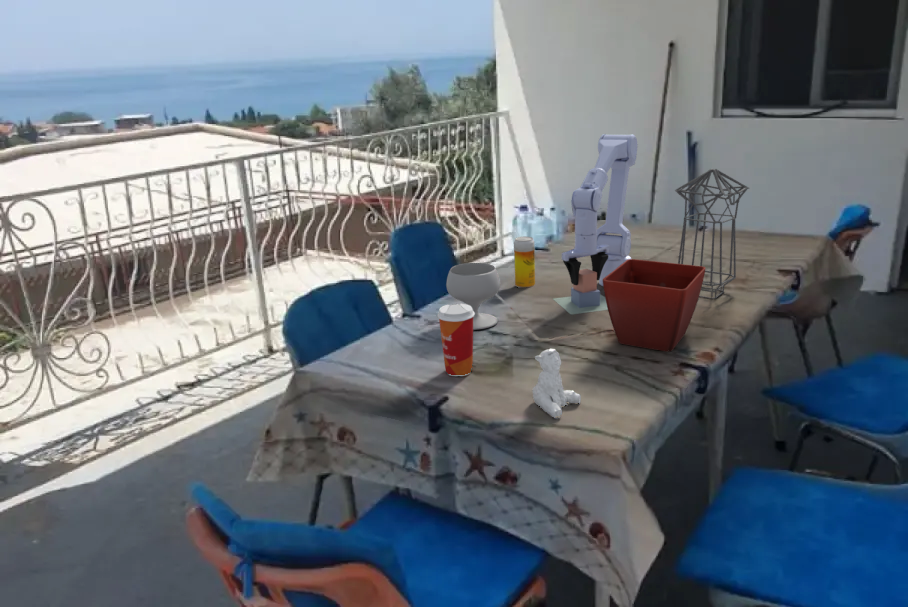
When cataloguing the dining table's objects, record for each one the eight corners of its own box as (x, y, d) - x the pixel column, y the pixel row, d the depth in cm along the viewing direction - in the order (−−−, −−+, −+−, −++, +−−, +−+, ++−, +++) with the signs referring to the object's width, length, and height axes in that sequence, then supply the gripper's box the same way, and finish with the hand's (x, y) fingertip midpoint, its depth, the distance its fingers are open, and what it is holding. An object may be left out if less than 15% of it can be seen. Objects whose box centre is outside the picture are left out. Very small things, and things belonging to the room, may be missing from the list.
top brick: (586, 285, 198) (586, 268, 196) (596, 289, 194) (596, 272, 192) (573, 288, 196) (573, 271, 194) (583, 292, 192) (583, 275, 191)
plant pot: (681, 360, 159) (685, 289, 153) (599, 347, 169) (601, 279, 163) (702, 332, 174) (706, 266, 169) (626, 321, 184) (628, 258, 178)
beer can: (534, 289, 212) (533, 241, 208) (513, 289, 214) (512, 241, 209) (536, 283, 218) (535, 236, 213) (516, 283, 219) (515, 236, 214)
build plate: (598, 295, 204) (598, 292, 204) (619, 310, 191) (619, 308, 191) (552, 301, 202) (552, 298, 201) (570, 317, 189) (570, 314, 188)
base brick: (591, 298, 200) (591, 285, 198) (599, 305, 194) (600, 291, 193) (571, 301, 198) (571, 287, 197) (579, 307, 193) (579, 294, 192)
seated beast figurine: (556, 421, 136) (556, 363, 132) (520, 408, 141) (519, 353, 137) (583, 402, 142) (583, 347, 139) (547, 391, 148) (546, 338, 144)
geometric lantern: (666, 295, 201) (672, 171, 191) (691, 282, 212) (698, 164, 202) (721, 305, 191) (730, 174, 181) (744, 291, 202) (754, 166, 191)
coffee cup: (439, 365, 163) (435, 304, 158) (475, 362, 164) (472, 301, 159) (442, 381, 155) (438, 316, 151) (479, 377, 156) (476, 313, 151)
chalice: (440, 319, 192) (437, 266, 187) (487, 310, 197) (485, 258, 192) (461, 336, 180) (458, 279, 175) (510, 326, 185) (509, 270, 180)
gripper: (598, 226, 196) (597, 273, 201) (554, 234, 190) (555, 283, 195) (614, 231, 190) (613, 279, 195) (570, 239, 184) (570, 289, 189)
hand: (585, 281), depth 194 cm, fingers open, 7 cm apart
